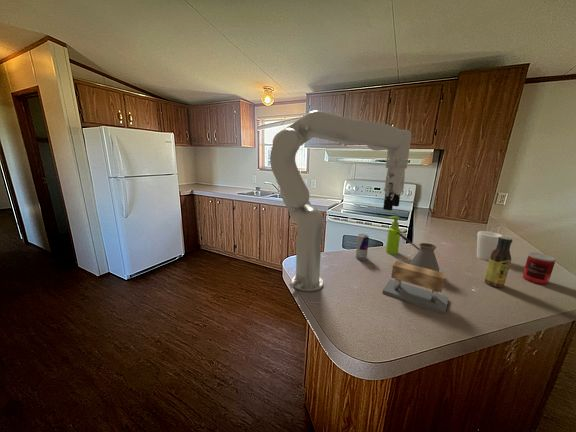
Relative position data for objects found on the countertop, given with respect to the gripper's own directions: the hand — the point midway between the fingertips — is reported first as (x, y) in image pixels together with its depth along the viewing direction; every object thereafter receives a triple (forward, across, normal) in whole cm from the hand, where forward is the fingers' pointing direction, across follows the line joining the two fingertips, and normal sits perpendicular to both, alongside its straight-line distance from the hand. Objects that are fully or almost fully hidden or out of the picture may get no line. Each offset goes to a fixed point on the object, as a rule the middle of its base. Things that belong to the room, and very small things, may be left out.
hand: (391, 207), depth 93 cm
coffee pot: (+30, +16, -9) cm, 36 cm away
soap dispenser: (+30, +29, +4) cm, 42 cm away
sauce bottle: (+30, +22, -38) cm, 53 cm away
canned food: (+30, +37, -51) cm, 70 cm away
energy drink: (+30, +12, +14) cm, 36 cm away
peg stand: (+30, -8, -14) cm, 34 cm away
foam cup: (+30, +53, -35) cm, 70 cm away
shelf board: (+24, -9, -14) cm, 29 cm away
